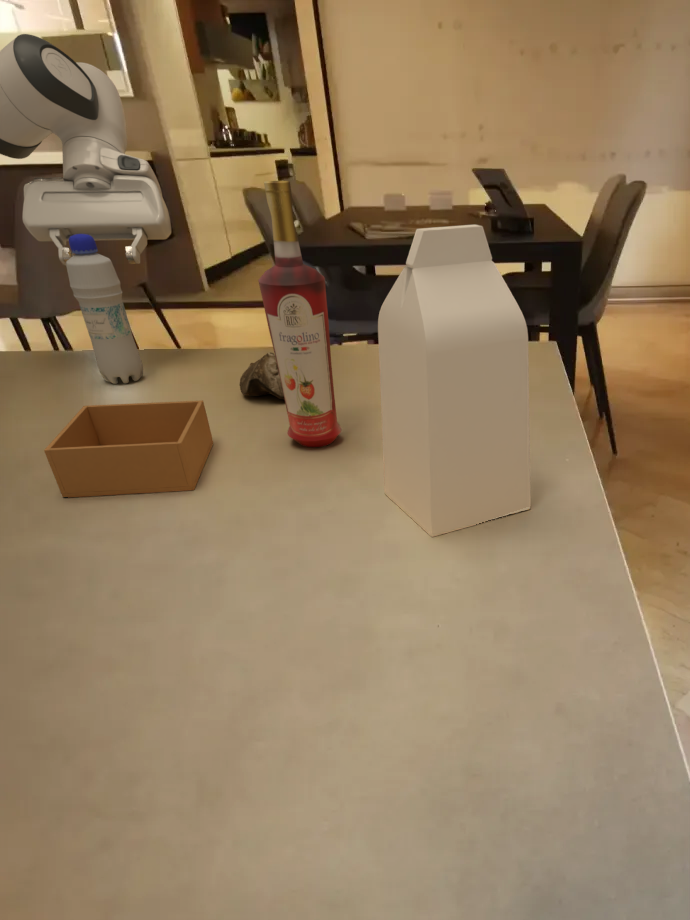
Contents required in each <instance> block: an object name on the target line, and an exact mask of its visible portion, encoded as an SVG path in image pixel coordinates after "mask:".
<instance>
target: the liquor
mask: <svg viewBox="0 0 690 920" xmlns="http://www.w3.org/2000/svg"><path fill="white" fill-rule="evenodd" d="M263 185H264V192H265V197H266V202H267V206H268V209H269V213H270V217H271V227H272V236H273V237H272V240H273V250H274V261H275V262H274V263H275V265H273V266H271V267H269V269H266V270H265V271H264V273H262V275H261V276H260V277H259V279H257V281H258V285H259V290H260V294H261V299H262V304H263V308H264V313H265V319H266V322H267V328H268V332H269V336H270V340H271V345H272V348H273V353H274V354H275V357H276V361H277V366H278V370H279V375H280V380H281V385H282V389H283V394H284V399H283V400H284V404H285V409H286V414H287V419H288V423H289V427H288V429H287V432H286V434H287V436H288V437H289V438H291V439H292V440H293V441H295V442H296V443H298V444H299V445H300V446H302V447H306V448H322V447H326V446H328V445H330V444H332V443H334V441H335V440H336V439H337V438H338V436H339V435H340V434H341V432H342V430H343V429H342V427H341V425H340V424H339V422H338V416H337V407H336V398H335V389H334V388H335V387H334V378H333V377H334V376H333V366H332V354H331V353H332V351H331V337H330V336H331V335H330V324H329V313H328V311H329V310H328V302H327V292H326V290H327V289H326V280H325V279H326V278H325V276H324V275H322V273H320V272H319V271H318V270H317V269H316V268H313V267H312V266H309V265H307V264H305V263H304V261H303V257H302V252H301V248H300V243H299V237H298V235H297V229H296V225H295V221H294V214H293V212H294V211H293V206H294V205H293V202H294V200H293V193H292V187H291V181H290V180H267V181H263Z"/></svg>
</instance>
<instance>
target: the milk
mask: <svg viewBox="0 0 690 920" xmlns="http://www.w3.org/2000/svg"><path fill="white" fill-rule="evenodd" d="M378 313H379V314H378V319H377V338H378V339H377V340H378V360H379V361H378V363H379V387H380V388H379V389H380V411H381V414H380V415H381V435H382V439H381V440H382V463H383V482H384V483H383V486H384V489H383V490H384V495H385V496H386V497H388V499H389V500H391V501H392V502H393V503H394V504H395V505H396V506H397V507H398V508H400V509H401V510H402V511H403V512H404V514H406V515H407V516H408V517H409V518H410V519H411V520H412V521H413V522H414V523H416V524H417V525H418V526H419V527H420V528H421V529H422V530H423V531H425V533H427V535H429V536H430V537H431V538H433V537H437V536H440V535H445V534H448V533H451V532H455V531H459V530H462V529H466V528H469V527H473V526H477V525H480V524H479V523H481V524H483V523H482V522H484V523H486V522H485V521H488V520H490V519H493V518H496V517H499V516H503V515H505V514H508V513H510V512H514V511H517V510H520V509H523V508H526V507H530V506H531V507H532V503H531V502H532V500H531V499H532V498H531V495H532V494H531V492H532V491H531V489H532V488H531V438H530V437H531V434H530V431H531V430H530V429H531V428H530V372H529V371H530V370H529V369H530V366H529V365H530V364H529V332H528V326H527V322H526V318H525V316H524V314H523V311H522V310H521V308H520V306H519V304H518V302H517V300H516V299H515V296H514V295H513V293H512V291H511V290H510V288H509V286H508V283H506V281H505V279H504V277H503V276H502V274H501V272H500V270H499V268H498V267H497V265H496V263H495V262H494V261H493V255H492V253H491V249H490V247H489V242H488V239H487V236H486V232H485V229H484V226H483V225H480V224H463V225H450V226H437V227H423V228H422V227H421V228H416V229H415V233H414V236H413V239H412V242H411V246H410V248H409V251H408V255H407V258H406V261H405V266H404V267H403V269H402V270H401V272H400V274H399V275H398V277H397V279H396V280H395V282H394V283H393V285H392V287H391V289H390V290H389V292H388V293H387V295H386V297H385V299H384V301H383V303H382V305H381V307H380V310H379V312H378ZM488 522H489V521H488ZM476 524H477V525H476Z"/></svg>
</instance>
